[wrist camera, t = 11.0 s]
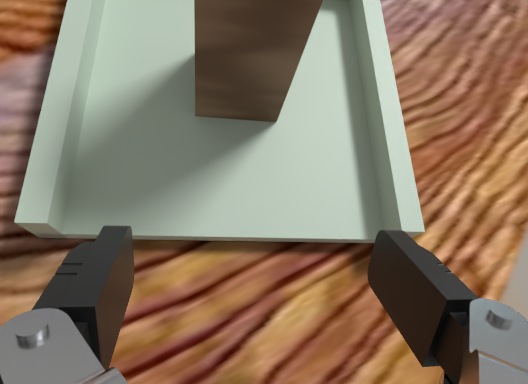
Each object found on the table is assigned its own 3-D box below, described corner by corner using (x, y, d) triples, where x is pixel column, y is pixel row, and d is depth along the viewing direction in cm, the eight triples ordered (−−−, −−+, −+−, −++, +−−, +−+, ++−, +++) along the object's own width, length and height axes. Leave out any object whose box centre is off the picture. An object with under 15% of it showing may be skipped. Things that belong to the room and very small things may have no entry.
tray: (39, 237, 16) (14, 222, 14) (96, -35, 23) (85, -76, 21) (397, 243, 19) (424, 231, 17) (358, 1, 26) (373, -30, 24)
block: (195, 116, 19) (193, -81, 10) (198, 50, 21) (200, -171, 12) (276, 122, 20) (344, -56, 11) (273, 58, 22) (330, -143, 12)
